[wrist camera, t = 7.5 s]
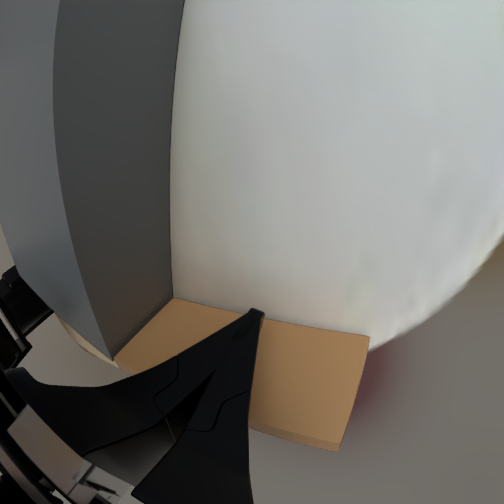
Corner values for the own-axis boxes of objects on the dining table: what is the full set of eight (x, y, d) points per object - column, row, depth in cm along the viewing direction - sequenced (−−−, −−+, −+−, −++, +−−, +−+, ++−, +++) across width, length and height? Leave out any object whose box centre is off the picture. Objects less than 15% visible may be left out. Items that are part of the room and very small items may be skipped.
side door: (181, 319, 16) (127, 378, 12) (173, 297, 15) (113, 358, 12) (365, 360, 11) (335, 459, 8) (370, 336, 11) (340, 443, 7)
